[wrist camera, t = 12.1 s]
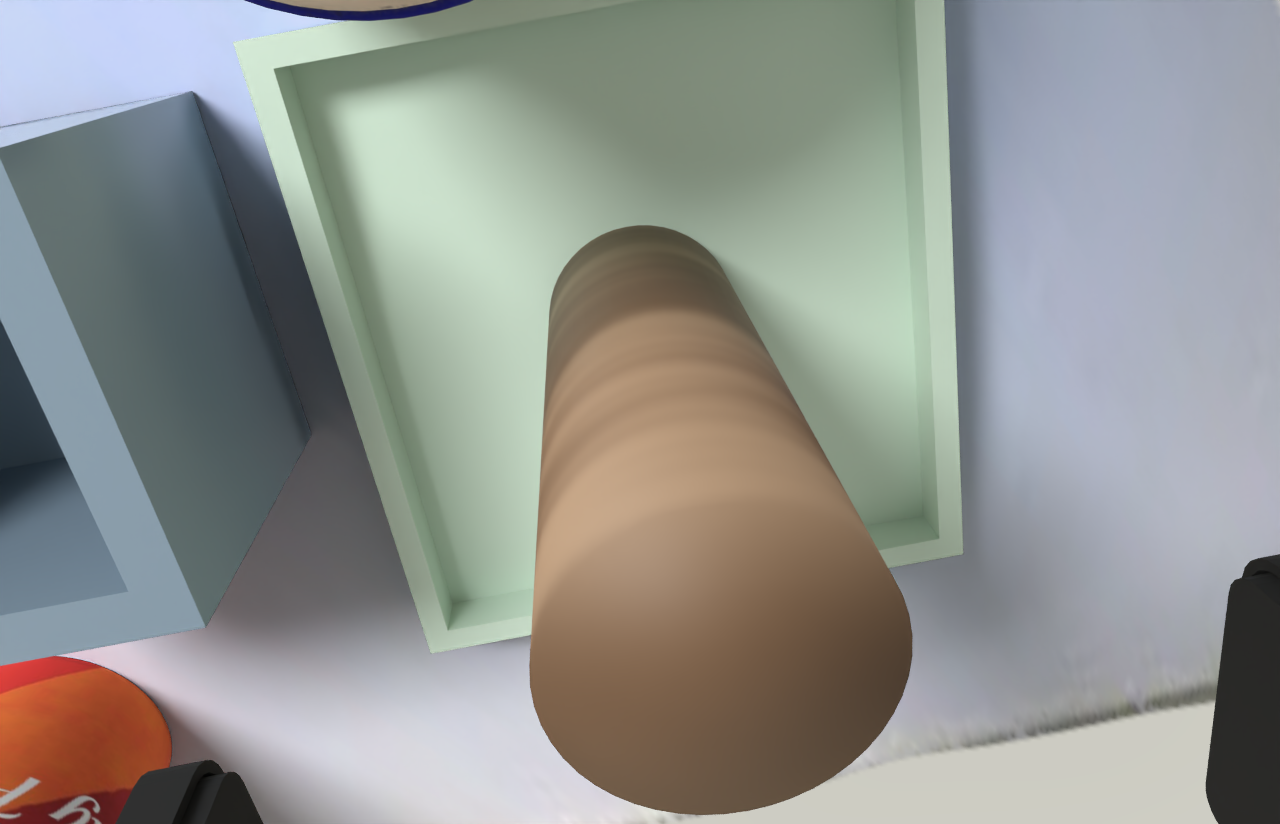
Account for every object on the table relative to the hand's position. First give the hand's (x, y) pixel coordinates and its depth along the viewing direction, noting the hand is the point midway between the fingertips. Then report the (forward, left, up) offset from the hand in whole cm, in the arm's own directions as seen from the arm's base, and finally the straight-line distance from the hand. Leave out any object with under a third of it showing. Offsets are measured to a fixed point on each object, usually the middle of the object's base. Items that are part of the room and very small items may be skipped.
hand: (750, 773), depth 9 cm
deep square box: (-2, -13, -16) cm, 20 cm away
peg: (0, 0, -15) cm, 15 cm away
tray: (0, 0, -16) cm, 16 cm away
